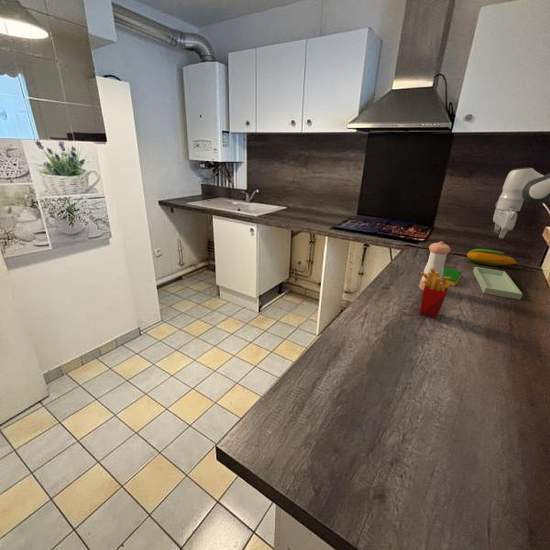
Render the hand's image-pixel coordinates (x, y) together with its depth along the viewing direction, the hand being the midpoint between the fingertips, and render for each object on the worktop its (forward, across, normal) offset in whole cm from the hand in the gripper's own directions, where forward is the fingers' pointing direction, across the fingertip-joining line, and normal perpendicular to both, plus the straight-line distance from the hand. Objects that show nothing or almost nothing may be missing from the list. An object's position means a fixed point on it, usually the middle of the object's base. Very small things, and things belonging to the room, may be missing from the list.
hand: (498, 235), depth 136 cm
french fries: (+15, -67, +30) cm, 75 cm away
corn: (+15, 0, 0) cm, 15 cm away
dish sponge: (+15, -30, +20) cm, 39 cm away
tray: (+15, -27, +3) cm, 31 cm away
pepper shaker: (+15, -45, +28) cm, 55 cm away
